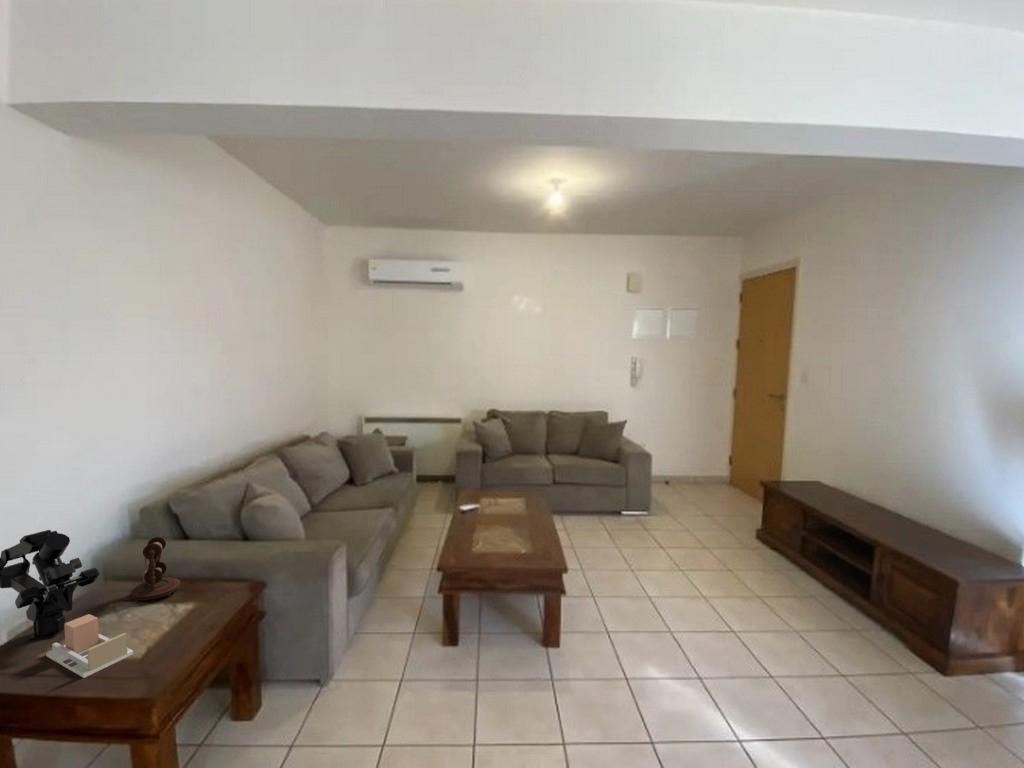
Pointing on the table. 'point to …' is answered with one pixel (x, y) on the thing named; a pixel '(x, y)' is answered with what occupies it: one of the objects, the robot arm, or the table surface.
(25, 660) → the table surface
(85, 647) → the slider block
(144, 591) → the brown upright piece
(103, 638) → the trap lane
